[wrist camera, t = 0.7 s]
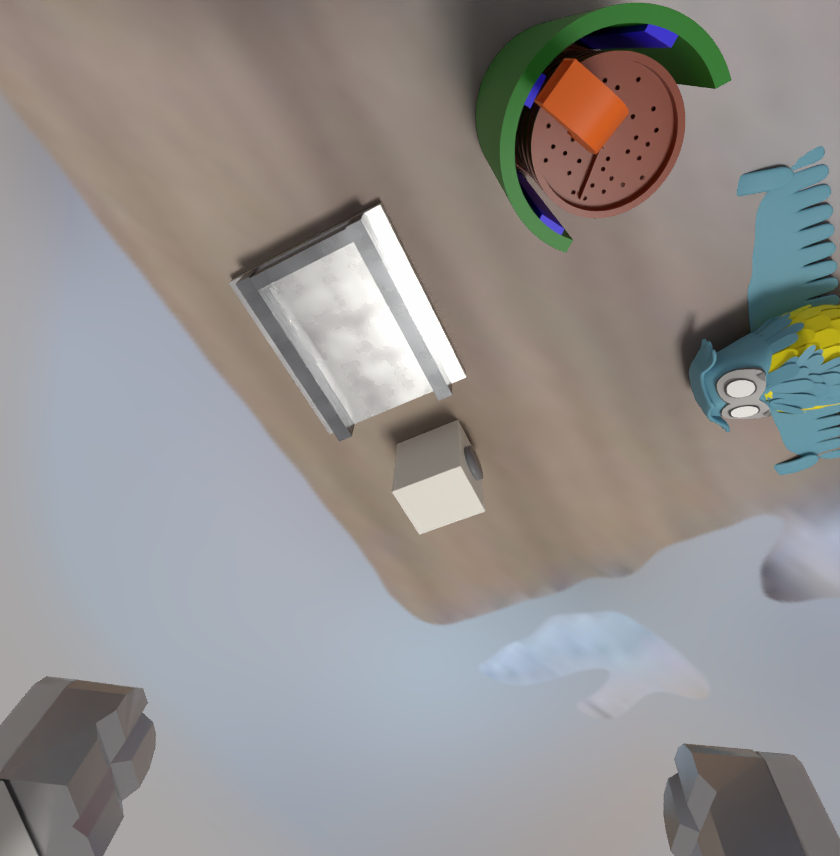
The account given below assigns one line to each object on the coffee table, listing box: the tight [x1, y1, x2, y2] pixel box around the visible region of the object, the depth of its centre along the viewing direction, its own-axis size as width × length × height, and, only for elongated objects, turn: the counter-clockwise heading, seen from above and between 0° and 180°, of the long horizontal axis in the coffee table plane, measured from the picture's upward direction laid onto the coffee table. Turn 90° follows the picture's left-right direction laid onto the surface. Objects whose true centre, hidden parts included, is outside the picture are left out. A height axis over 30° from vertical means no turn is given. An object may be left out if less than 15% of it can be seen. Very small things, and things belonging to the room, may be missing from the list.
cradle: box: [229, 202, 466, 441], centre depth 47 cm, size 15×13×3 cm
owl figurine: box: [689, 146, 840, 475], centre depth 45 cm, size 28×9×15 cm
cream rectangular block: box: [392, 420, 485, 535], centre depth 51 cm, size 5×6×7 cm
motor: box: [476, 3, 731, 253], centre depth 31 cm, size 10×9×20 cm
